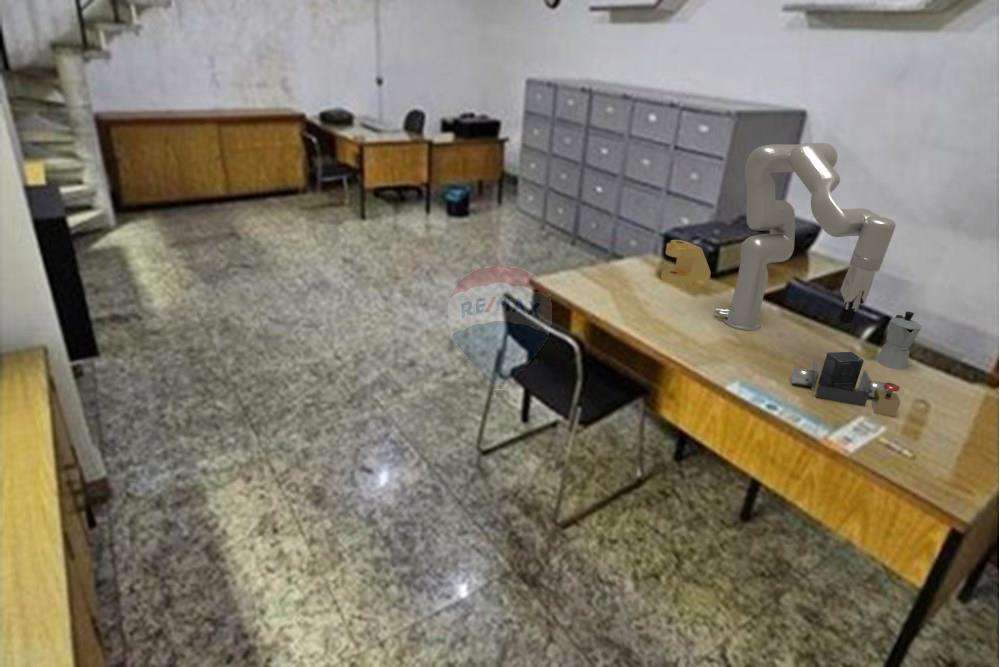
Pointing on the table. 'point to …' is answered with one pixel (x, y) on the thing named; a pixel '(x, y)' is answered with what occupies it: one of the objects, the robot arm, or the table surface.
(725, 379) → the table surface
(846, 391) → the dark grey bracket shape
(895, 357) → the coffee maker
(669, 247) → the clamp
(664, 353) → the table surface
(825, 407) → the table surface
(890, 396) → the valve
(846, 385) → the box
